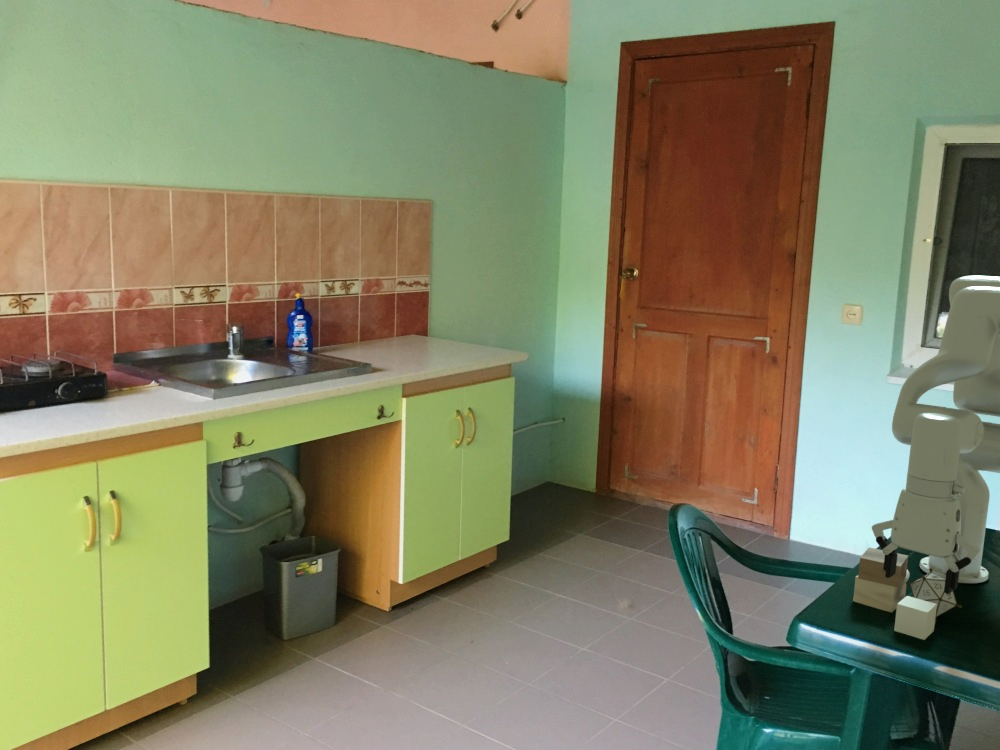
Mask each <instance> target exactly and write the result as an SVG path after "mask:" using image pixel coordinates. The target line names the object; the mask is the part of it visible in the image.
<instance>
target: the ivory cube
mask: <svg viewBox="0 0 1000 750" xmlns="http://www.w3.org/2000/svg"><path fill="white" fill-rule="evenodd" d="M936 608H937V604H935V603H931V602H928V601H924V600H921V599H917V598H913V596H910V595H905V598H904V599H902V600H901V601H900V602H899V603H898V604H897V608H896V609H895V620H894V621H895V622H894V632H897V633H900V634H905V635H907V636H911V637H914V638H917V639H919V640H923V641H924V640H926V639H927V638H928V637H929V636H930V635H931V634H933V633H934V631H935V625H936V622H935V616H936Z"/></svg>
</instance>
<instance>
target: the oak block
mask: <svg viewBox="0 0 1000 750" xmlns="http://www.w3.org/2000/svg"><path fill="white" fill-rule="evenodd" d="M905 582H908V580H907V577H905V579H904V580H903V582H902V583H901V585H900V586H899V588H898V587H893V586H889V585H885V584H880V583H876V582H871V581H867V580H863V579H858V574H857V575H856V576H855V579H854V588H853V589H854V590H853V599H852V602H855V603H858V604H861V605H864V606H868V607H872V608H874V609H878V610H881V611H886V612H888V613H893V612H894V611H896V610H897V604H898V603H899V602H900V601H901V600H902V599H904V598H905V597H906V593H907V585H906V583H905Z"/></svg>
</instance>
